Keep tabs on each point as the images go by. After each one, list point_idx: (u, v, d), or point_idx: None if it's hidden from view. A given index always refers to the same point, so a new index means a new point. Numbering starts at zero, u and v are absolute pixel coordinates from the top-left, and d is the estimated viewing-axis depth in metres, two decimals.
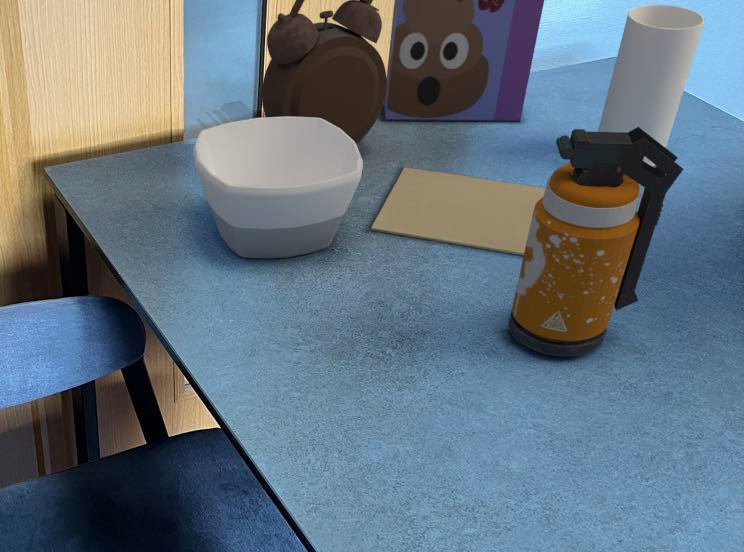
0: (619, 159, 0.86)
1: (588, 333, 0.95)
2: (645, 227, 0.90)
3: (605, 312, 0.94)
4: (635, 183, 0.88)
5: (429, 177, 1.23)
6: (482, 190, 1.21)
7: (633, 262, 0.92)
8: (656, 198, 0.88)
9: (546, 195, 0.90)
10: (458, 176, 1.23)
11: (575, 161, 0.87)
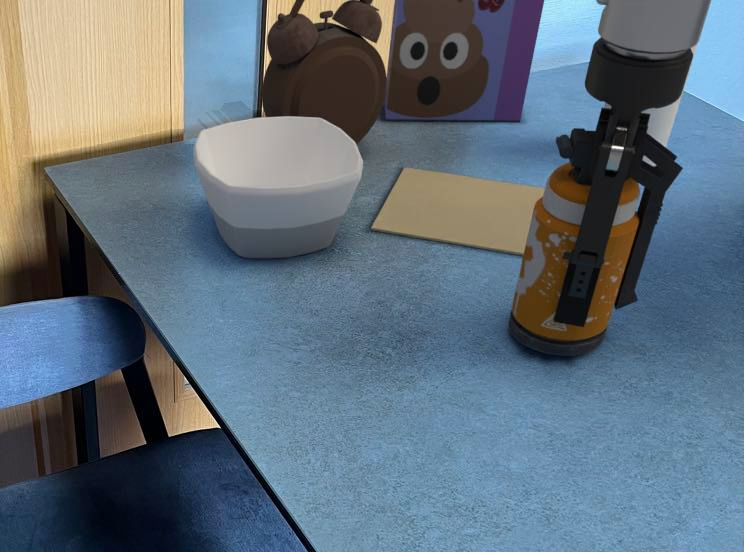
0: None
1: (588, 332, 0.95)
2: (645, 226, 0.90)
3: (604, 311, 0.94)
4: (634, 182, 0.88)
5: (429, 177, 1.23)
6: (482, 190, 1.21)
7: (633, 261, 0.92)
8: (656, 197, 0.88)
9: (546, 194, 0.90)
10: (458, 176, 1.23)
11: (575, 160, 0.87)
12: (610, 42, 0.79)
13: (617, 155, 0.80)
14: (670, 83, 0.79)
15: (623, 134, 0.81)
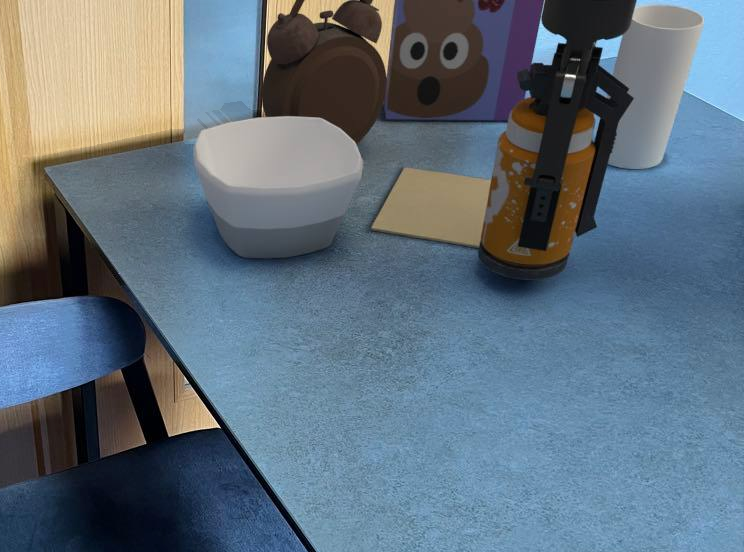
0: None
1: (550, 257, 1.02)
2: (601, 155, 0.97)
3: (565, 236, 1.01)
4: (590, 112, 0.95)
5: (429, 177, 1.23)
6: (482, 190, 1.21)
7: (591, 189, 1.00)
8: (610, 127, 0.95)
9: (508, 126, 0.97)
10: (458, 176, 1.23)
11: (534, 92, 0.94)
12: None
13: (570, 83, 0.87)
14: (617, 15, 0.86)
15: (576, 64, 0.89)
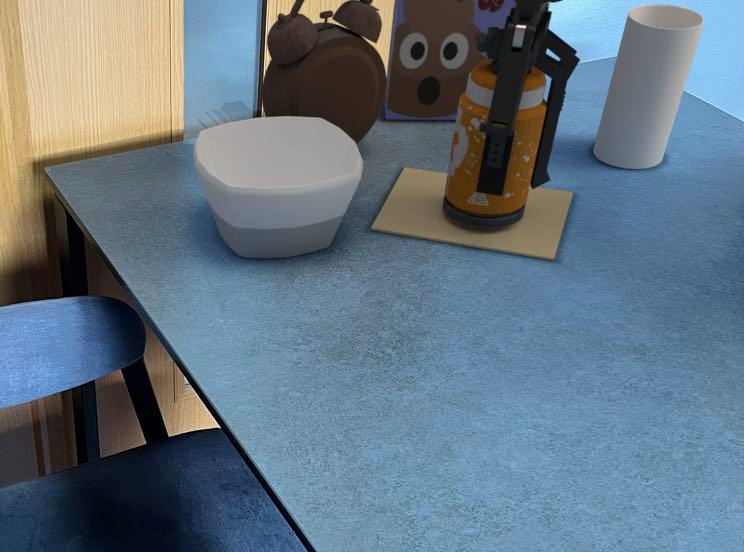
0: None
1: (507, 207, 1.11)
2: (552, 112, 1.07)
3: (520, 188, 1.10)
4: (541, 73, 1.04)
5: (429, 177, 1.23)
6: None
7: (543, 145, 1.09)
8: (559, 86, 1.05)
9: (468, 85, 1.06)
10: None
11: (490, 53, 1.03)
12: None
13: (521, 31, 0.96)
14: None
15: None
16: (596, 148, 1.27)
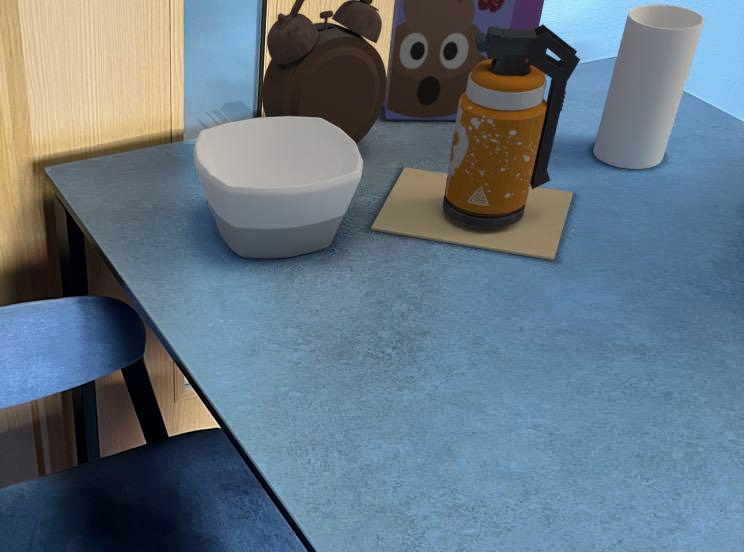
0: (526, 51, 1.03)
1: (507, 207, 1.11)
2: (552, 112, 1.07)
3: (520, 188, 1.10)
4: (541, 73, 1.04)
5: (429, 177, 1.23)
6: None
7: (544, 145, 1.09)
8: (559, 86, 1.05)
9: (468, 85, 1.06)
10: None
11: (490, 53, 1.03)
12: None
13: None
14: None
15: None
16: (596, 148, 1.27)
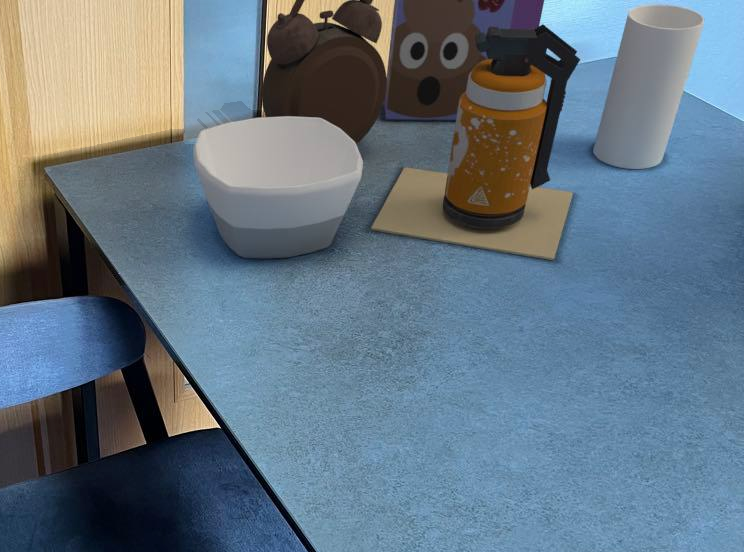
0: (526, 51, 1.03)
1: (507, 207, 1.11)
2: (552, 112, 1.07)
3: (520, 188, 1.10)
4: (541, 73, 1.04)
5: (429, 177, 1.23)
6: None
7: (544, 145, 1.09)
8: (559, 86, 1.05)
9: (468, 85, 1.06)
10: None
11: (490, 53, 1.03)
12: None
13: None
14: None
15: None
16: (596, 148, 1.27)
